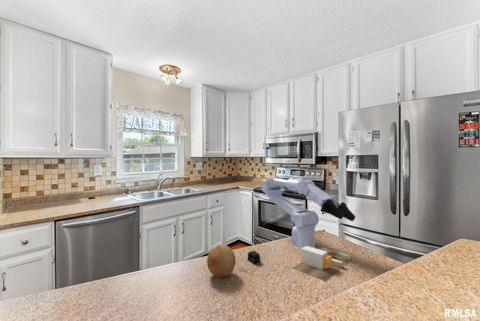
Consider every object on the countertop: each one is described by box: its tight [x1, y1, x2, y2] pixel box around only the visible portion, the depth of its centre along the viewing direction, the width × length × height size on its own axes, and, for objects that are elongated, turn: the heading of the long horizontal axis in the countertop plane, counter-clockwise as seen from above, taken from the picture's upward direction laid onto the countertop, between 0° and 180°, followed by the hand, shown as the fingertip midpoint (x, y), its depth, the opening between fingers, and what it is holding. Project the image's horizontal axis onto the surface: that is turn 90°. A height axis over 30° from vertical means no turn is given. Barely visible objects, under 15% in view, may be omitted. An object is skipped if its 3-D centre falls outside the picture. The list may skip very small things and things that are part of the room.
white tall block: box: [300, 246, 332, 270], centre depth 78 cm, size 10×4×5 cm, turn 44°
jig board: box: [292, 246, 353, 282], centre depth 79 cm, size 12×22×3 cm, turn 134°
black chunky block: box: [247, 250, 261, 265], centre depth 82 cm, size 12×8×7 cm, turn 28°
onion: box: [206, 243, 237, 278], centre depth 74 cm, size 10×10×10 cm
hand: (348, 218), depth 78 cm, fingers open, 7 cm apart
